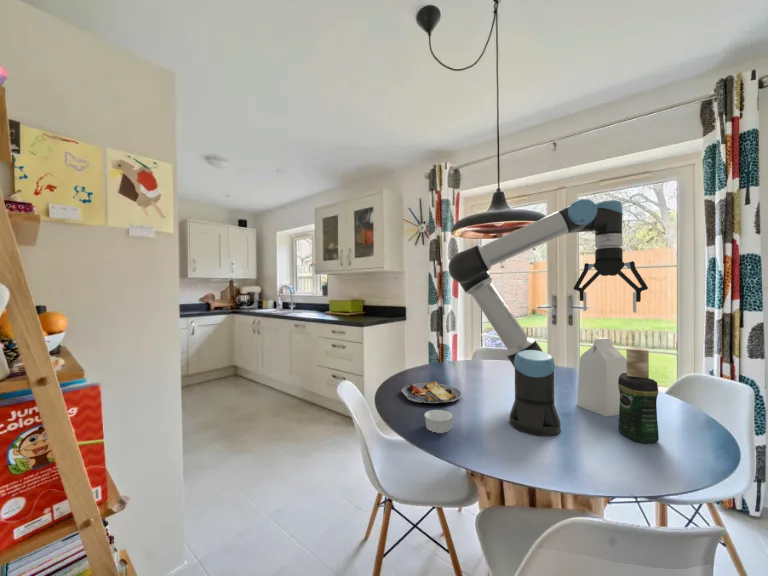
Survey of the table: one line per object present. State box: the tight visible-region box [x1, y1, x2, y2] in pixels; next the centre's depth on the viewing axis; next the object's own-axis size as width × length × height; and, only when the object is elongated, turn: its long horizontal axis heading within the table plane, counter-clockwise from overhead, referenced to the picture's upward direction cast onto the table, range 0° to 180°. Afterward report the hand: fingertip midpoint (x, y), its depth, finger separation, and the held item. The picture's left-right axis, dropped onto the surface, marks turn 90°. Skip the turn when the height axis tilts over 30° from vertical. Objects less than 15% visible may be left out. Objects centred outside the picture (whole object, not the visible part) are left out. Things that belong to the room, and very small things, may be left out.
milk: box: [576, 337, 627, 417], centre depth 119 cm, size 12×12×26 cm
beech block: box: [625, 346, 650, 379], centre depth 97 cm, size 5×5×8 cm
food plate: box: [400, 380, 462, 404], centre depth 134 cm, size 25×23×4 cm
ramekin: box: [424, 409, 453, 434], centre depth 104 cm, size 9×9×4 cm
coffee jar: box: [617, 373, 660, 444], centre depth 97 cm, size 10×8×19 cm
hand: (608, 311), depth 108 cm, fingers open, 13 cm apart
